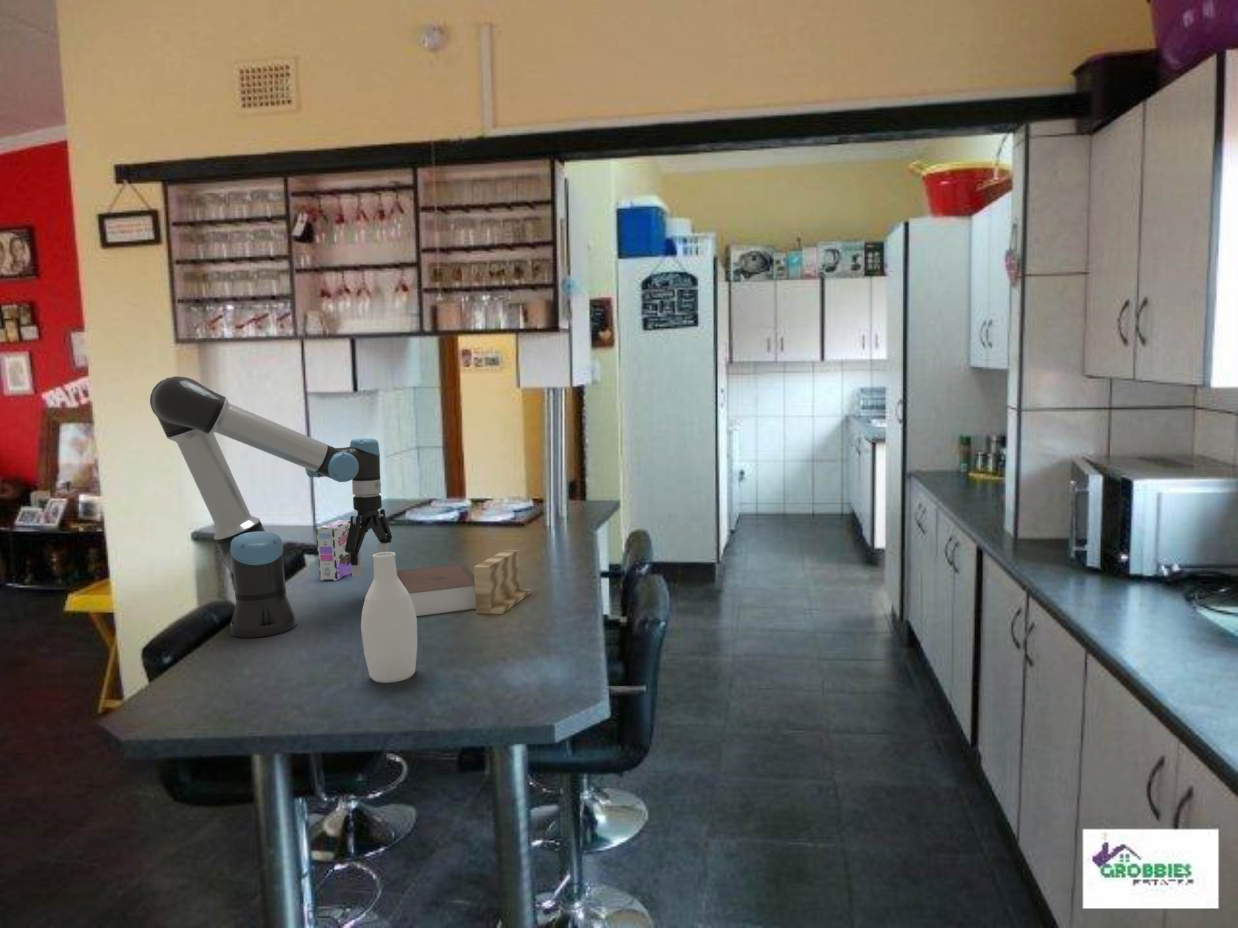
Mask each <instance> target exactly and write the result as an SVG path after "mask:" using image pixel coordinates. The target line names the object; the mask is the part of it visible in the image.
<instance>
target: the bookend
mask: <svg viewBox="0 0 1238 928" xmlns="http://www.w3.org/2000/svg"><path fill="white" fill-rule="evenodd" d="M519 556H520V555H519V550H518V549H516V550H515V549H504V550H502V551H500V552H498V553H497V554H494V555H492V556H491V557H489V558H487V559H485V560H483V561H482V562H479V563H478V564H476V565H475V566H473V575H474V582H475V598H476V608H475V610H476V614H486V615H488V614H490V615H503V614H505V613H506V612H507V611H509V610H510V609H512V608H513V607H514V606H515V605H517V604H518V603H520V602H521V601H522V600H524V599H526V597H529V595H531V591H532V590H531V588H521V575H520V560H519V559H520V557H519Z"/></svg>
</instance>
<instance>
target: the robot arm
mask: <svg viewBox="0 0 1238 928" xmlns="http://www.w3.org/2000/svg"><path fill="white" fill-rule="evenodd" d="M149 397H150V398H149V405H150V408H151V411H152V413H153V414H154V415H155V416H156V418H157V419H158V421H159V423H160V424H159V425H160V426H161V428H162V430H163V432H164V434H165V436H166V438H167V439H168V440H170V441H173V442H175V443H176V444H177V446H178V448H179V450H180V452H181V454H182V457H183V458H184V461H185V463H186V464H187V465H186V466H187V467H188V470H189V472H190V473H191V475H192V476H191V477H192V478H193V480H194V483H195V485H196V487H197V489H198V491H199V494H200V495H201V497H202V500H203V502H204V504H205V506H206V508H207V510H208V512H209V515H210V517H211V519H212V521H213V523H214V525H215V528H216V532H215V534H214V536H213V539H214V540H215V542H216V545H217V547H218V549H219V552H220V553H221V555H220V556H221V559H222V561H223V564H224V565H225V567H226V568H227V569H228V570H229V571H230V572H231V574H232V575H233V585H234V596H235V597H234V598H235V603H234V608H233V612H232V615H231V621H230V625H229V626H230V627H229V628H230V629H229V630H230V635H232V636H233V637H237V638H248V639H250V638H262V637H269V636H273V635H277V634H281V633H285V632H288V631H290V630H292V629H294V628H295V627H296V625H297V616H296V613H295V612H294V610H293V607H292V605H291V602H290V600H289V597H288V596H287V588H286V579H285V577H286V576H285V567H284V566H285V565H284V546H283V542H282V538H281V537H280V535H278V534H277V533H275V532H271V531H269V532H268V531H265V529H264V526H263V524H262V522H261V520H260V518H259V517H255V516H252V515H251V513H250V511H249V508H248V506H247V504H246V502H245V499H244V497H243V495H242V493H241V491H240V488H239V487H238V484H237V481H236V480H235V478H234V475H233V473H232V471H231V469H230V466H229V465H228V463H227V459H226V457H225V456H224V453H223V450H222V449H221V446H220V445H219V442H218V440H217V438H216V436H215V434H214V433H216V434H217V433H218V434H219V435H222V436H224V437H227V438H230V439H232V440H234V441H237V442H240V443H242V444H244V445H247V446H249V447H251V448H255V449H256V450H260V451H262V452H264V453H267V454H269V455H272V456H275V457H277V458H279V459H282V460H284V461H287V462H290V463H292V464H293V465H294V464H295V465H296V466H299V467H301V468H304V470H305V473H306V475H307V477H309V478H322V477H323V478H324V477H325V478H329V479H332V480H333V481H336V482H338V483H346V482H350V481H352V482H351V484H352V485H351V486H352V487H351V488H352V489H351V490H352V494H353V495H354V496H353V497H352V504H353V509H354V511H357V515H350V519H349V520H350V528H349V532H348V537H347V542H346V546H345V552H347V553H350V555H351V570H352V574H351V577H352V578H353V577H355V578H362V577H363V565H362V552H360V550H361V549H362V545H363V542H364V539H365V537H366V534H367V533H368V532H369V530H372V532H373V533H374V536H375V537H376V538H377V541H379V542H378V543H377V553H381V552H389V550H388V549H389V546H388V544H389V543H392V539H393V534H392V531H391V529H390V525H389V524H388V520H387V517H386V509H383V508H382V507H383V506H382V505H383V504H382V501H383V500H382V495H380V494H381V493H382V489H381V488H382V487H381V486H382V483H381V459H380V457H381V454H380V446H379V441H378V440H377V439H375V438H354V439H352V440H350V444H349V446H346V447H345V446H344V447H334V446H331V445H329V444H328V443H327V444H326V443H324V442H321V441H319V440H318V439H314V438H313V437H310V436H307V435H305V434H303V433H302V432H298V431H296V430H294V429H292V428H289V427H287V426H284V425H282V424H279V423H277V422H275V421H273V420H270V419H267V418H266V417H263V416H260V415H258V414H256V413H253V412H252V411H248V410H247V409H243V408H241V407H239V406H237V405H234V404H232V403H230V402H229V400H228V397H226V396H224V395H221V394H220V393H218V392H215V391H213V390H211V389H209V388H208V387H206V386H205V385H203V384H202V383H200V382H198V381H197V380H195V379H193V378H190V377H186V376H179V375H178V376H177V375H176V376H172V377H166V378H165V379H162V380H160V381H159V382H157V384H155V386H154V387H153V389H152V390H151V393H150V395H149ZM349 547H350V548H349Z"/></svg>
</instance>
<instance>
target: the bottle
mask: <svg viewBox="0 0 1238 928" xmlns="http://www.w3.org/2000/svg"><path fill="white" fill-rule="evenodd" d="M372 559H373V580H372V582H371V585H370V586H369V588H368V590H367V592H366V594H365V597H364V602H363V607H362V610H361V621H360V631H361V640H362V647H363V654H364V657H365V662H366V666H367V671H368V675H369V678H370V679H372V681H374V682H376V683H382V684H384V683H385V684H386V683H388V684H389V683H397V682H403V681H405V680H408V679H410V678H411V677H412V676H414V674H415V673H416V665H417V656H418V619H417V616H416V614H415V609H414V605H413V603H412V600H411V598H410V595H409V593H408V591H407V590H406V588H405V587H404V585H403V584H402V582H401V581H400V579H399V578H398V576H397V571H398V570H397V563H396V552H394V551H388V552H381V553H378V552H376V553H373V554H372Z"/></svg>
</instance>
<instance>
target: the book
mask: <svg viewBox="0 0 1238 928" xmlns="http://www.w3.org/2000/svg"><path fill="white" fill-rule="evenodd" d="M397 576H398V578H399V579H400V581H401V582H402V584H403V585H404V587H405V588H406V590H407V591H408V593H409V595H410V598H411V600H412V603H413V605H414V609H415V614H416V617H421V616H427V615H435V614H437V615H438V614H444V613H451V612H459V611H467V610H474V609H475V610H476V598H475V582H474V572H472V571H471V570H470V568H469V567H468V566H467V565H466V563H456V564H448V565H440V566H439V565H437V566H430V567H422V568H414V569H413V568H412V569H404V570H397Z"/></svg>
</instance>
